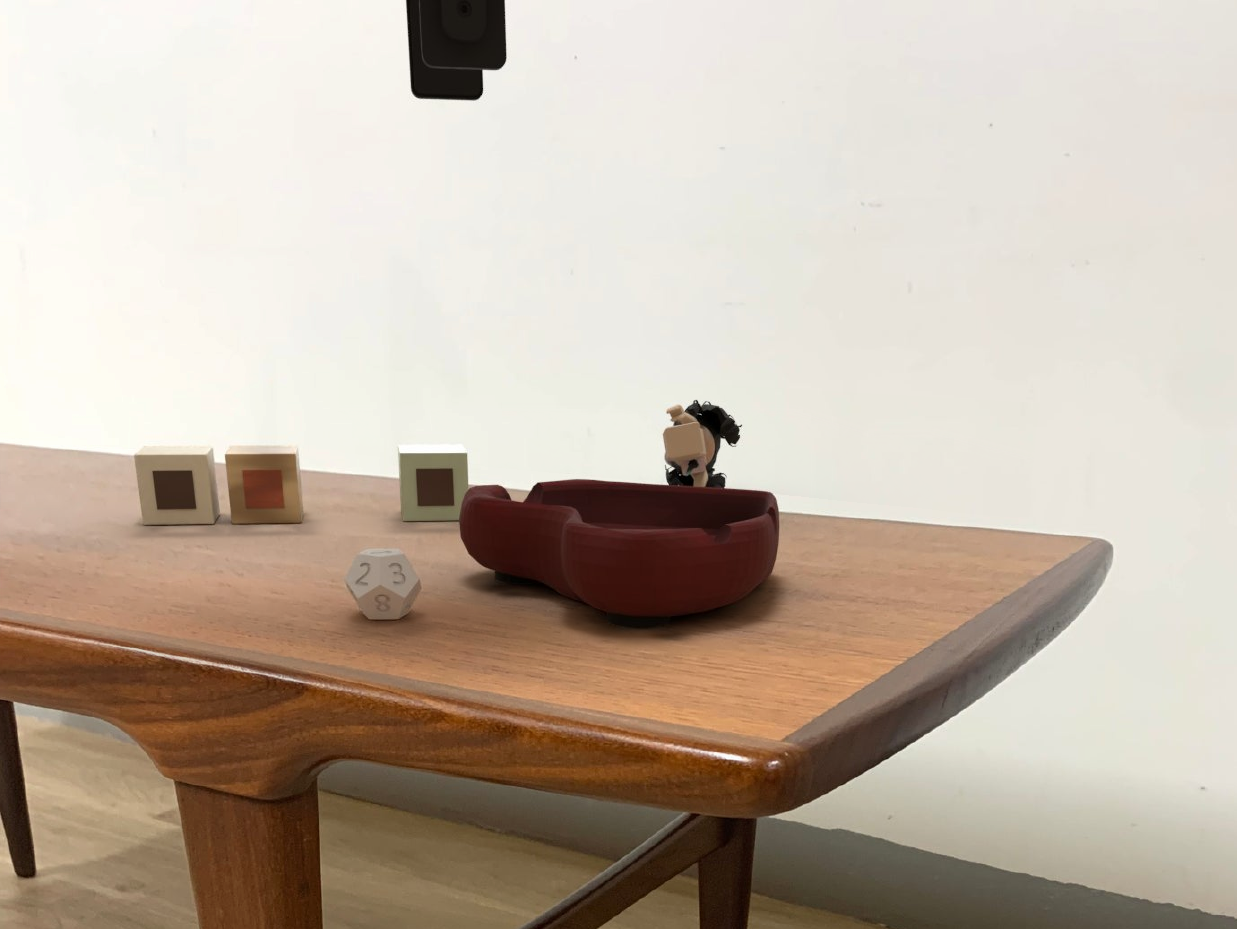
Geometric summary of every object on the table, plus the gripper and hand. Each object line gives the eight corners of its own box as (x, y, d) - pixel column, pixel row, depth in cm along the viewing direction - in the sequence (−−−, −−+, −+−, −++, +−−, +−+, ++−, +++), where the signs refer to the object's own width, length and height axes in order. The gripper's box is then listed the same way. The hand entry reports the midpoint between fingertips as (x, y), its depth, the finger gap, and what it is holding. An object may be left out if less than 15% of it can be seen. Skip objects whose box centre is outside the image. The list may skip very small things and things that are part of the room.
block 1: (142, 525, 85) (133, 454, 84) (152, 514, 89) (143, 446, 88) (214, 524, 86) (206, 454, 85) (220, 513, 90) (213, 445, 89)
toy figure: (664, 524, 91) (672, 494, 105) (755, 506, 90) (751, 479, 104) (644, 416, 89) (655, 400, 102) (737, 397, 88) (735, 384, 102)
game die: (339, 609, 65) (334, 548, 64) (413, 604, 67) (410, 543, 65) (355, 626, 62) (350, 561, 61) (432, 619, 64) (429, 556, 62)
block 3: (403, 521, 89) (399, 452, 87) (401, 510, 93) (397, 445, 91) (469, 520, 89) (467, 452, 88) (464, 510, 93) (462, 444, 92)
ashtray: (878, 611, 69) (888, 512, 67) (615, 651, 60) (616, 539, 58) (676, 553, 82) (679, 469, 80) (437, 579, 73) (433, 486, 71)
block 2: (231, 524, 87) (224, 454, 85) (237, 513, 91) (230, 445, 89) (301, 523, 87) (295, 453, 86) (303, 512, 91) (297, 445, 90)
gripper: (329, -362, 56) (361, 106, 63) (322, -608, 40) (366, 49, 47) (508, -345, 57) (520, 111, 64) (568, -576, 42) (576, 57, 49)
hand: (455, 84), depth 56 cm, fingers open, 9 cm apart
